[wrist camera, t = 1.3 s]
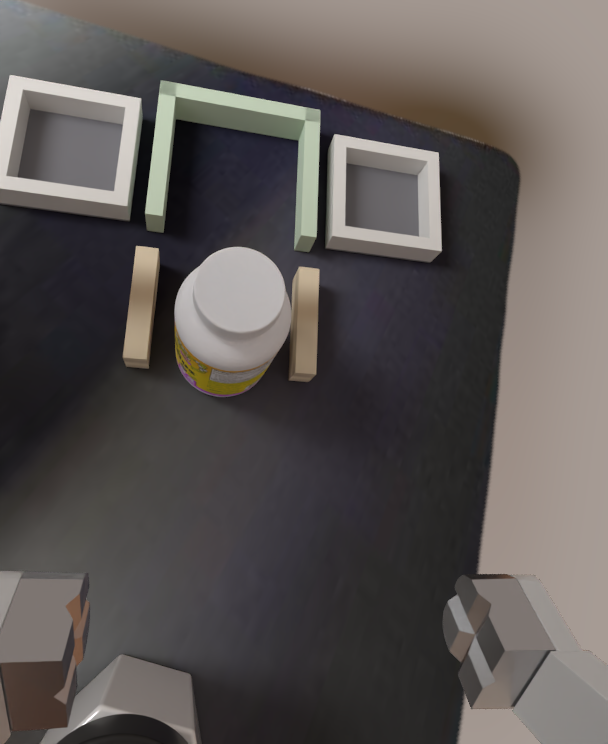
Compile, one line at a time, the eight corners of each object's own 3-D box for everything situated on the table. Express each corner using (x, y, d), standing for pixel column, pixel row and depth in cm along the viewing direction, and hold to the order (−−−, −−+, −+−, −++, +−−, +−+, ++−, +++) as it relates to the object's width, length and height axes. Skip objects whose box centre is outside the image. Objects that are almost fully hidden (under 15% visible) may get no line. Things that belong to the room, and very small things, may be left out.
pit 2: (429, 263, 45) (441, 251, 43) (325, 248, 43) (332, 235, 41) (427, 168, 47) (438, 152, 45) (327, 151, 46) (334, 134, 44)
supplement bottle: (173, 311, 40) (170, 224, 27) (263, 310, 41) (299, 228, 29) (177, 402, 38) (175, 353, 26) (270, 397, 40) (310, 349, 27)
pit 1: (129, 221, 40) (127, 206, 38) (-3, 203, 39) (-13, 186, 37) (142, 118, 43) (140, 98, 41) (18, 97, 41) (10, 74, 39)
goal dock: (309, 252, 43) (316, 237, 41) (147, 230, 41) (144, 213, 38) (313, 130, 46) (320, 110, 43) (161, 103, 43) (160, 80, 41)
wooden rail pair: (308, 382, 40) (316, 374, 38) (126, 366, 38) (122, 357, 35) (311, 282, 42) (319, 269, 40) (138, 261, 40) (136, 245, 37)
